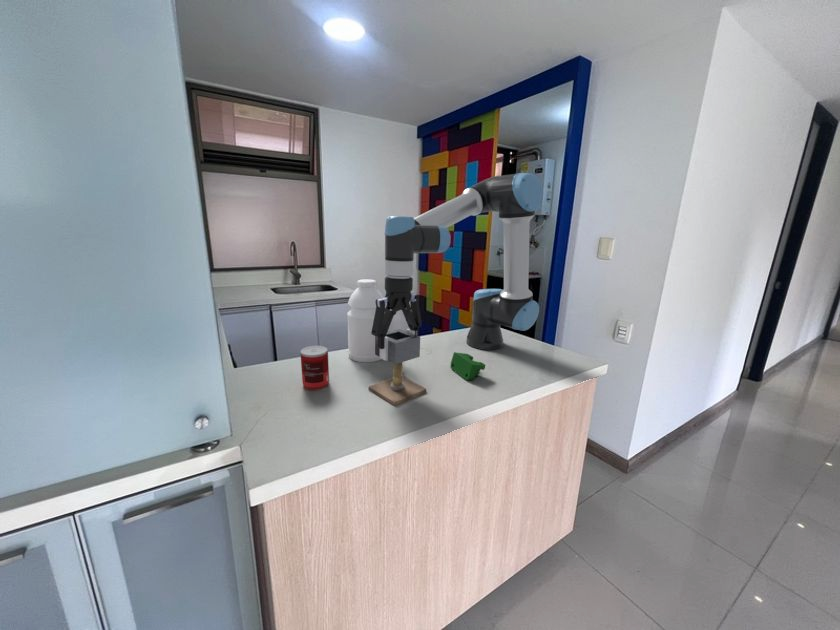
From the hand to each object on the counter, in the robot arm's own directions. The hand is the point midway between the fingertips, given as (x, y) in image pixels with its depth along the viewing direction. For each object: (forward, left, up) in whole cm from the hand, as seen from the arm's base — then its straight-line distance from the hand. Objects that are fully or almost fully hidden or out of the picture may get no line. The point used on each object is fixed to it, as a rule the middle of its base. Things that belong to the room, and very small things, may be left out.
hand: (397, 354), depth 95 cm
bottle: (-9, -28, -12) cm, 32 cm away
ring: (0, 0, 0) cm, 0 cm away
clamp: (-26, +6, -12) cm, 29 cm away
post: (0, 0, -11) cm, 11 cm away
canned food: (+16, -19, -12) cm, 27 cm away
